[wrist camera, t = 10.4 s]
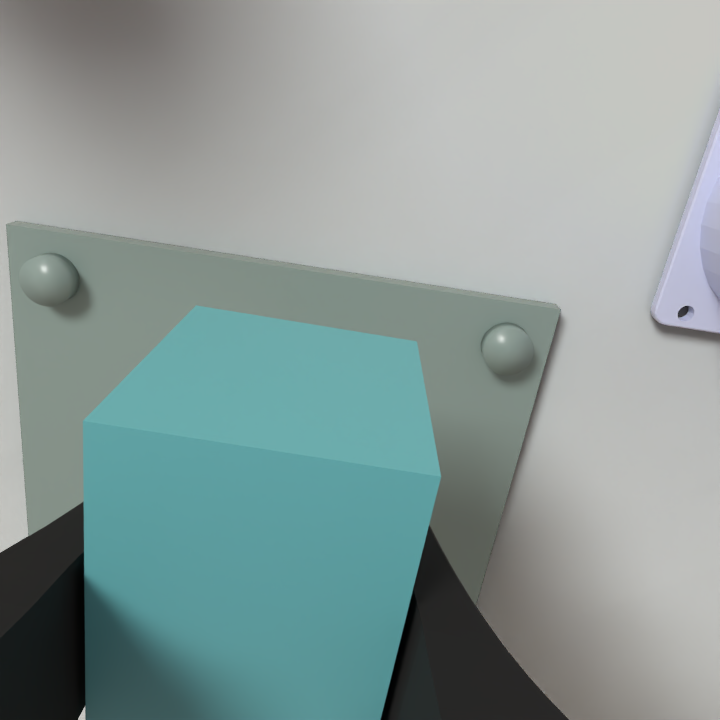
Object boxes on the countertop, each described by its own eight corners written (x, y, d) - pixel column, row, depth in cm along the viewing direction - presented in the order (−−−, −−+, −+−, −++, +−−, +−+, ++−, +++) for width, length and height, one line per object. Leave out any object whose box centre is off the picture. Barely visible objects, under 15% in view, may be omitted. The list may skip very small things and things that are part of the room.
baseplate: (555, 304, 20) (567, 315, 19) (447, 687, 27) (450, 713, 26) (16, 221, 20) (-8, 227, 19) (43, 632, 26) (27, 656, 25)
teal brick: (417, 341, 12) (440, 476, 8) (361, 605, 15) (353, 827, 10) (195, 305, 12) (82, 420, 7) (178, 578, 15) (85, 791, 10)
